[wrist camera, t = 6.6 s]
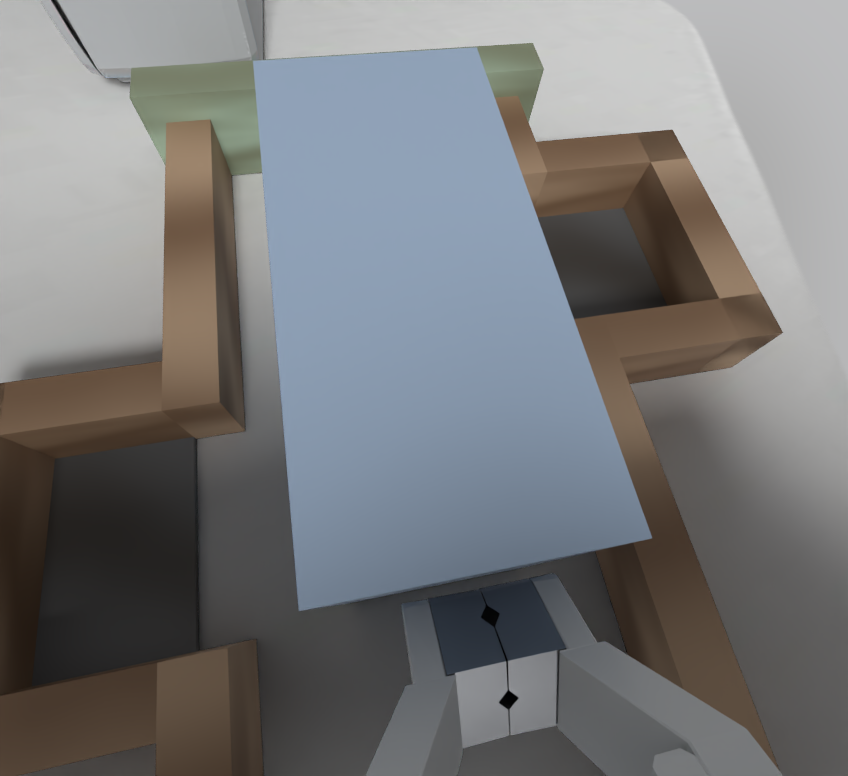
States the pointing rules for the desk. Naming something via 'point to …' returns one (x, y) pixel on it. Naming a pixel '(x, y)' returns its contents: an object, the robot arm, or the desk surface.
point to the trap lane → (224, 413)
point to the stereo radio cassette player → (158, 32)
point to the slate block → (422, 336)
